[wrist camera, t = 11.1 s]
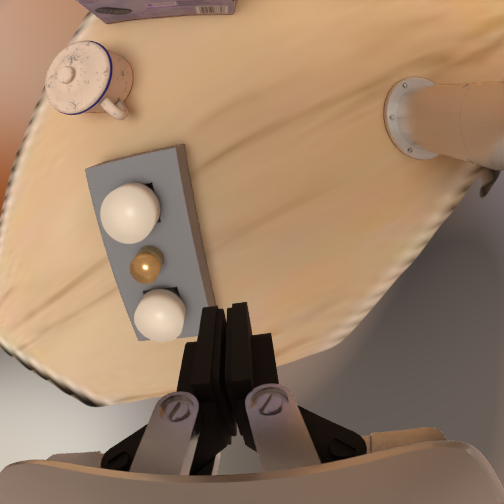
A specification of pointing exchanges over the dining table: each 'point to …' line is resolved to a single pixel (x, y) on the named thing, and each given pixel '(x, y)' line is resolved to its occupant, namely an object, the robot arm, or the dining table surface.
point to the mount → (158, 232)
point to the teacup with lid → (89, 81)
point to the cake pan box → (155, 8)
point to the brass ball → (147, 264)
